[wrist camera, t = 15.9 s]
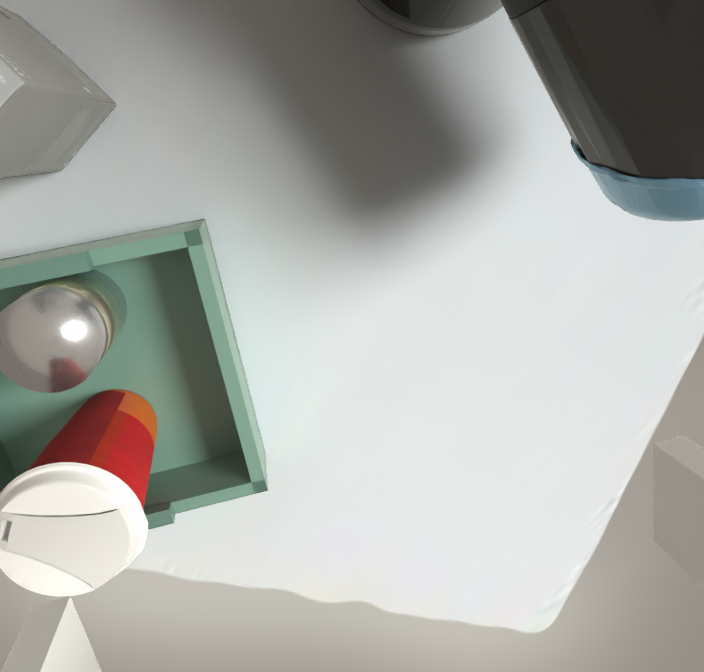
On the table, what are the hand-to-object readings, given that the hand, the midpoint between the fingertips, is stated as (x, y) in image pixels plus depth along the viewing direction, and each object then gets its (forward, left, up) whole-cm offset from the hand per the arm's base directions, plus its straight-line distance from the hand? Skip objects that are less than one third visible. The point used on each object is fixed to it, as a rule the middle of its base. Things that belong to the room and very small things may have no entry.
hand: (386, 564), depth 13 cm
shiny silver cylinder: (0, -15, -34) cm, 37 cm away
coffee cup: (+9, -15, -34) cm, 39 cm away
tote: (+5, -15, -35) cm, 38 cm away
